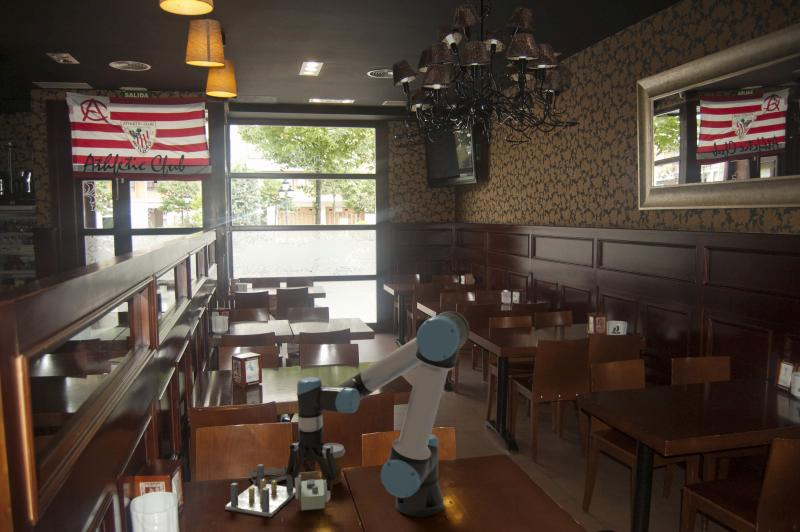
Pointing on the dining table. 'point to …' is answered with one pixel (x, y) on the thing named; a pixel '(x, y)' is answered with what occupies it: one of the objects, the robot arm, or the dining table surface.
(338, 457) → the disposable coffee cup
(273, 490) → the chassis
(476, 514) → the dining table surface
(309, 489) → the board
